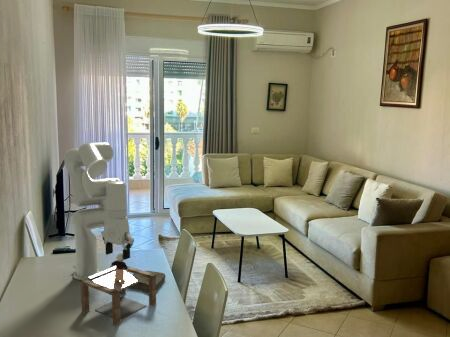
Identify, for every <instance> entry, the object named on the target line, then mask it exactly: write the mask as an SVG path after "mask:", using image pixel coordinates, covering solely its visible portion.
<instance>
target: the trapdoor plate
mask: <svg viewBox="0 0 450 337" xmlns="http://www.w3.org/2000/svg"><path fill="white" fill-rule="evenodd" d="M115 269H116V266H113V267H112V268H111V267H110V268H107V269H105V270H103V271H102V270H101V272H100V273H97V274H95V275H92V276H89V277H88V280H89V281H91V280H93V279H95V280H93V281H92V282H95V283H98V284H101V285H103V286H106V287H109V288H112V289H115V290H117V291H121V290H123V289H125V288H126V289H128V288H129V287H130V286H132V285H134V284H136V283H138V282H139V281H140V280H139V279H138V278H136V277H134V276H133V274H131V272H128V273H126V271H125V270H124V280H125V281H126V282H125V283H123V284H120V283H119V282H120V281H118V282H117V283H115V282H114V280H115V272H113V271H115ZM111 272H112V273H111ZM108 273H110V274H108ZM106 274H107V275H106ZM103 275H105V276H103ZM101 276H102V277H101ZM98 277H100V278H98ZM96 278H98V279H96ZM108 295H109V296H111V295H110V294H108Z"/></svg>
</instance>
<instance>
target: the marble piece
mask: <svg viewBox="0 0 450 337" xmlns="http://www.w3.org/2000/svg"><path fill="white" fill-rule="evenodd" d="M145 271H146V272H149V273H152V274H155V275H156V292H157V291H158V290H159V289H160V288H159V287H161V286H162V285H161V284H164V283H165V280H166V273H163V272H159V271H153V270H145ZM132 275H133V276H134V277H136V278H138V279H139V280H140V281H139V282H138V283H136V284H134V285H132V286H130V287H128V288H129V289H133V290H136V291H140V292H143V293H145V294H149V278H147V277H144V276H141V275H138V274H135V273H132Z"/></svg>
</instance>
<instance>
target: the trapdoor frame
mask: <svg viewBox="0 0 450 337" xmlns="http://www.w3.org/2000/svg"><path fill="white" fill-rule="evenodd" d="M127 267H128V273H130V274H131V273H132V274H134V273H135V274H138V275H141V276H144V277H147V278H149V293H148V305H149V306H150V307H151V306H152V307H155V306H156V305H157V291H156V275H155V274H152V273H149V272H146V271H147V270H141V269H138V268H135V267H131V266H129V265H127ZM124 270H125V268H124ZM113 272H115V271H113ZM111 273H112V272H111ZM108 274H110V273H108ZM106 275H107V274H106ZM103 276H105V275H103ZM101 277H102V276H101ZM98 278H100V277H98ZM98 278H96V279H98ZM93 280H95V279H93ZM93 280H91V281H89V280H86V279H83V280H80V297H81V298H80V300H81V301H80V302H81V312H82V313H85V314H86V313H88V312H90V293H89V292H90V289H89V288H91V289H93V290H94V289H95V290H97V291H100V292H103V293H105V294H107V295H109V294H110V295H109V296H111V301H110V302H108V303H106V304H104V305H102V306H100V307H98V308H96V309H94V311H95V312H98V313H101V314H103V315H106V316H108V317H111V318H112V325H113V326H116V327H118V326H119V325H121V320H124V319H125V318H127V317H129V316H131V315H133V314H134V313H137V312H138V311H140V310H143V309H145V308H146V307H147V304H144V303H140V302H137V301H135V300H132V299H129V298H128V297H124V295H126V294H127V288H125V289H123V290H121V291H117V290H115V289H112V288H109V287H106V286H103V285H101V284H98V283H95V282H92V281H93Z"/></svg>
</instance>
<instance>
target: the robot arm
mask: <svg viewBox="0 0 450 337" xmlns="http://www.w3.org/2000/svg"><path fill="white" fill-rule="evenodd" d="M64 152H65V153H64V155H63V158H64V165H65V168H66V170H67V172H68V175H69V178H70V183H71V184H70V185H71V191H72V192H71V193H72V200H73V204H74V205H75V206H76V207H91V206H98V207H95V208H86V209H80V210H76V211H75V212H74V213H73V214H72V216H71V222H72V227H73V231H74V240H75V241H74V243H75V261H76V262H75V264H74V265H73V266H72V268H73V269H75V271H74V273H73V278H74V279H75V280H78V281H81V280H83V279H86V280H88V277H89V276H92V275H95V274H97V273H100V272H102V270H101V269H99V267H98V266H99V263H98V238H97V237H96V235H95V234H94V232H92V230H97V229H100V228H101V229H102V228H103V231H101V232H100V234H101V237H102V240H103V244H104V245H105V255H106V256H107V255H108V256H109V255H110V254H114V253H113V252H114V245H113V244H115V245H118V246H120V245H121V246H122V248H123V249H122V253H123V260H124V261H126V260H128V259H130V258H131V248H132V246H133V245H134V243H135V242H134V241H135V238H134V237H133V236H132V235H130V226H129V224H130V223H129V219H128V215H127V214H128V212H127V210H128V209H127V185H126V183H125V181H122V180H121V179H120V178H119V177H107V178H98V177H101V176H102V175H103V174H104V173H105V172H106V171H107V169H108V163H109V162H110V161H111V160H112V159H113V157H114V149H113V147H112V145H111V144H110V143H109V142H105V141H103V142H100V141H99V142H85V143H83V144H81V145H80V146H79V147H76V148H70V149H67V150H66V151H64Z"/></svg>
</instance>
